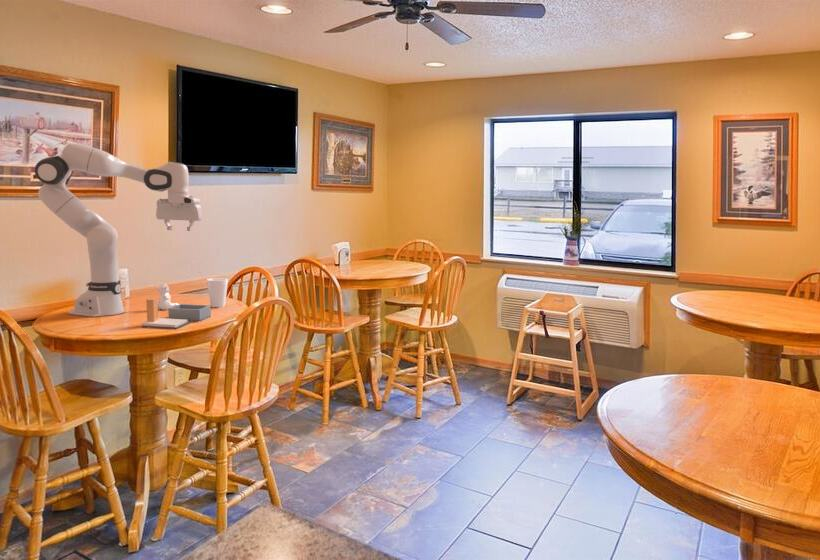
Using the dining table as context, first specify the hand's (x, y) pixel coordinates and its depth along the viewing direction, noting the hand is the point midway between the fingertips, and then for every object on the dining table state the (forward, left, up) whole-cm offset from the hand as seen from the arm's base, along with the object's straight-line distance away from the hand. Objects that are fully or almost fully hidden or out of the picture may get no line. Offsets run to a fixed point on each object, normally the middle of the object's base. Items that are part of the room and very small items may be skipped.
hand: (179, 230), depth 264 cm
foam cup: (+10, +15, -37) cm, 41 cm away
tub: (+10, -12, -37) cm, 40 cm away
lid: (+7, -26, -36) cm, 45 cm away
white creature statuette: (-10, +4, -37) cm, 39 cm away
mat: (+7, -26, -37) cm, 45 cm away
